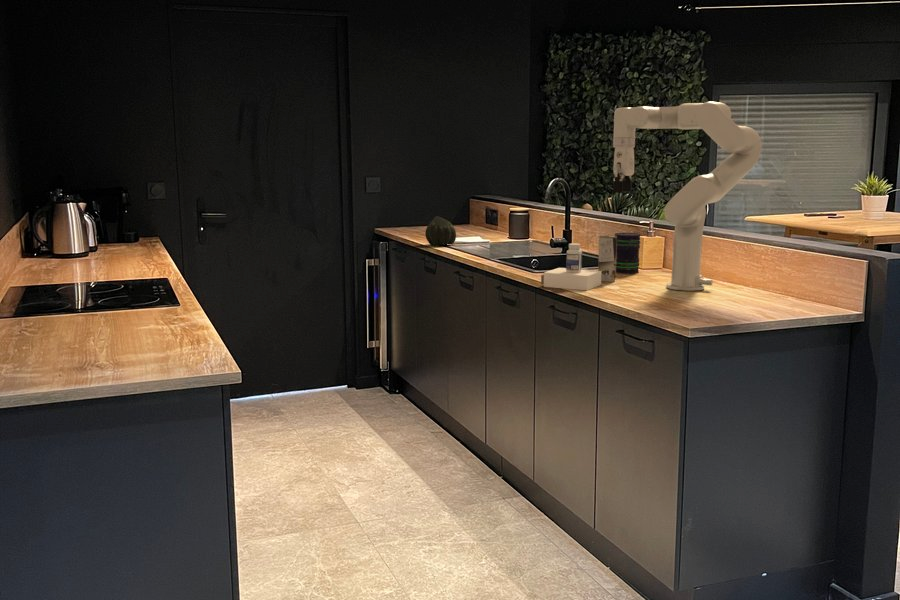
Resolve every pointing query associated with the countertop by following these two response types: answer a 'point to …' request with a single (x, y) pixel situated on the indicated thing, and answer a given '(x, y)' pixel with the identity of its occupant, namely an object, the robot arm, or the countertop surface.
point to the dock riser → (571, 279)
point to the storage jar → (627, 253)
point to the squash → (440, 232)
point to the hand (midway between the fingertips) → (622, 191)
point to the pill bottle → (574, 258)
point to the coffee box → (607, 257)
